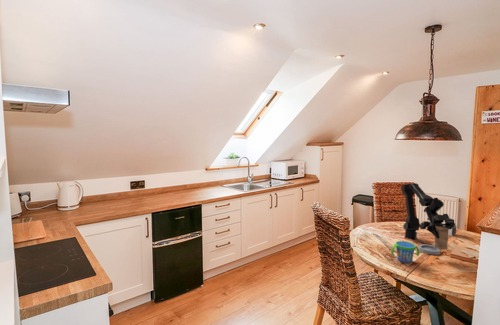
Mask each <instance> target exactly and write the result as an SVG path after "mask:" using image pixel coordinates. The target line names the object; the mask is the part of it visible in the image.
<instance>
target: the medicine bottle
mask: <svg viewBox="0 0 500 325" xmlns="http://www.w3.org/2000/svg"><path fill="white" fill-rule="evenodd" d="M447 221H453V222H454V223H455V219H454V218H451V217H449V219H447V220H444V222H443V224H445V223H446V222H447ZM456 234H457V225H456V226H454V227H453V228H452V229H448V237H453V236H456Z"/></svg>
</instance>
